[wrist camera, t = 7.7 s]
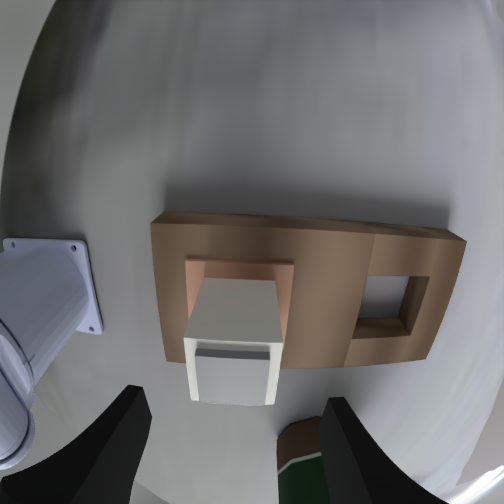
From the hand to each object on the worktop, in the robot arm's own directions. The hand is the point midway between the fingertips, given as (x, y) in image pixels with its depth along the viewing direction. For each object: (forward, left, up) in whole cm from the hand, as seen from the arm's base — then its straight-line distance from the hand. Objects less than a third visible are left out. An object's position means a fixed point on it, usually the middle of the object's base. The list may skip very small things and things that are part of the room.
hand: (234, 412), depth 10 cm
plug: (0, 0, -8) cm, 8 cm away
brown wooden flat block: (+5, 0, -10) cm, 11 cm away
